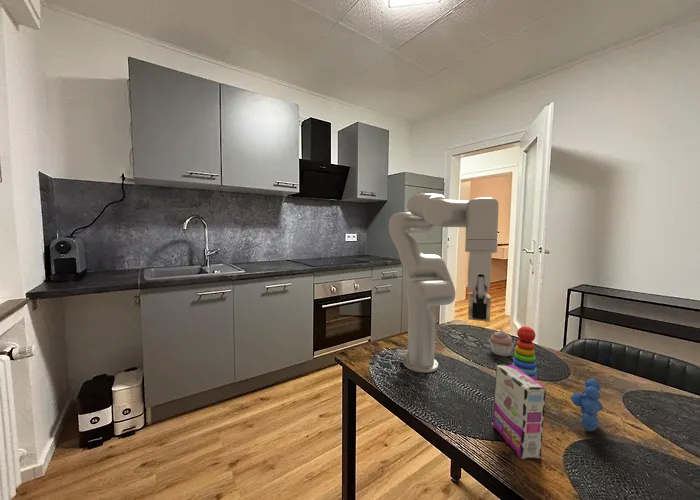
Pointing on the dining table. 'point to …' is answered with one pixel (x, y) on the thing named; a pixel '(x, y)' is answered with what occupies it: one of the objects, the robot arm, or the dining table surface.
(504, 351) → the cupcake
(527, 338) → the stacking toy
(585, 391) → the grapes
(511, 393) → the candy bar box
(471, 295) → the beech block
